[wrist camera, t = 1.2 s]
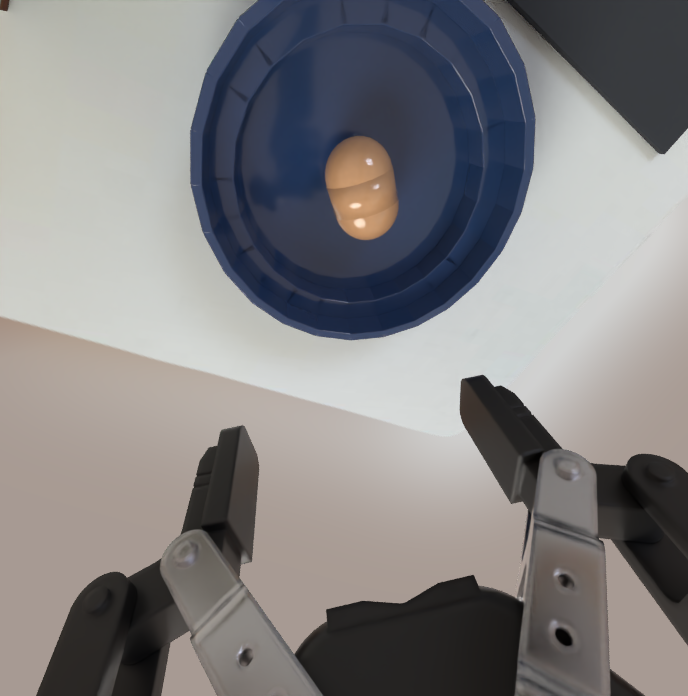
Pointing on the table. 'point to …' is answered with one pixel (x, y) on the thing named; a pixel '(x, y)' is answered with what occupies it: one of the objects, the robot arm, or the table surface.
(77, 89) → the table surface
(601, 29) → the mat
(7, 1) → the food container
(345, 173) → the bread roll
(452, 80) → the basin
